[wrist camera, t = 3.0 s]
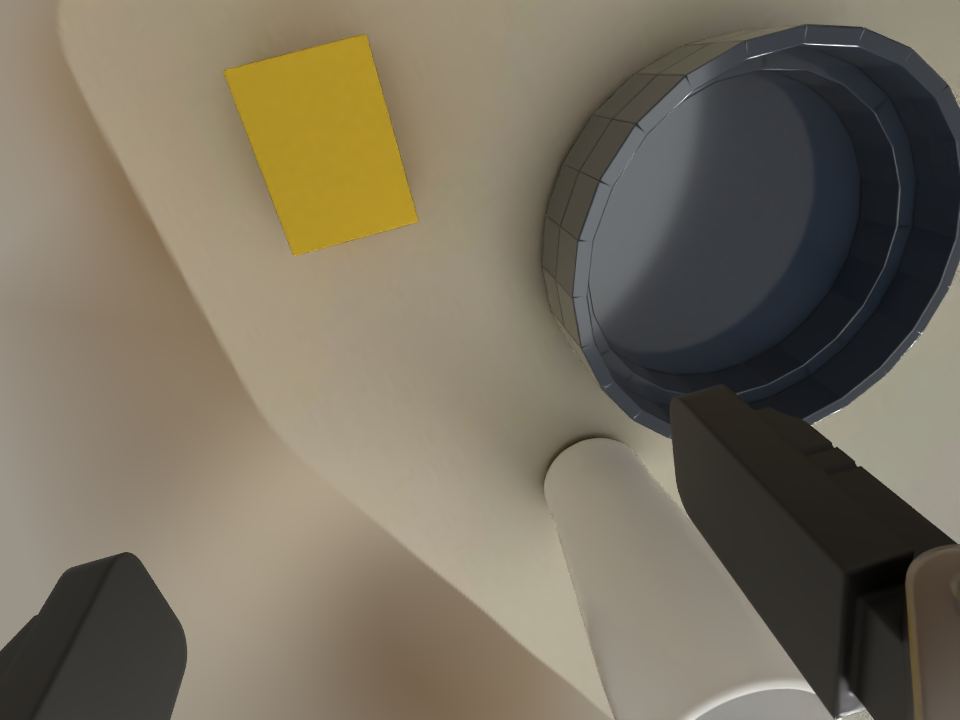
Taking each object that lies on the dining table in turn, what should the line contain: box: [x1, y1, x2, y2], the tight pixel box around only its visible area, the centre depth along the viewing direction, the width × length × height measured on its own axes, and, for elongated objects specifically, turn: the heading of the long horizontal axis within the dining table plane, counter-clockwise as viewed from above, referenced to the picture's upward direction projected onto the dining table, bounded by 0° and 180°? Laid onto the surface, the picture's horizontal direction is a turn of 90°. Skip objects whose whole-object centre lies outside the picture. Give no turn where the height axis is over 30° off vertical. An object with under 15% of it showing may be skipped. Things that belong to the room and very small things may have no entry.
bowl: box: [542, 24, 960, 439], centre depth 26 cm, size 16×16×5 cm
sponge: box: [223, 34, 418, 256], centre depth 22 cm, size 4×6×4 cm
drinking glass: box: [544, 438, 841, 720], centre depth 26 cm, size 7×7×15 cm
